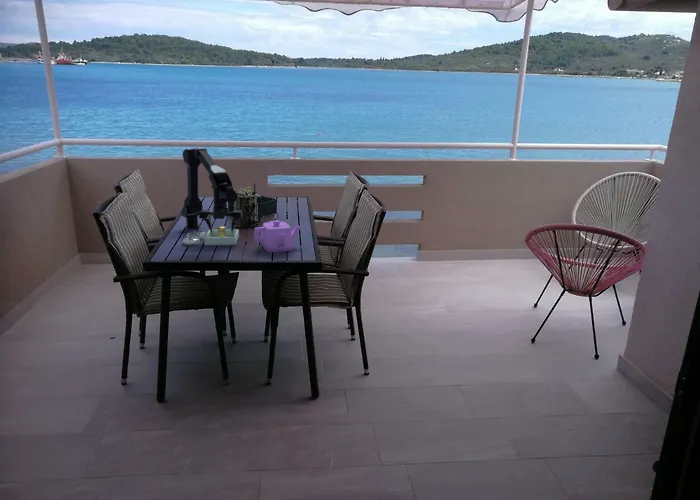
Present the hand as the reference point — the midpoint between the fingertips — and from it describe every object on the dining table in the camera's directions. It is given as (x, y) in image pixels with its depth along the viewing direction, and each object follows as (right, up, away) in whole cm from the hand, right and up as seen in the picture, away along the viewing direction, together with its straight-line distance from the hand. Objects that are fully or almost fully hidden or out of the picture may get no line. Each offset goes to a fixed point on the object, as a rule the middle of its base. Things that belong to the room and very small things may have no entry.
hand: (221, 232), depth 229 cm
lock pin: (0, -3, +1) cm, 3 cm away
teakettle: (+27, -7, -6) cm, 28 cm away
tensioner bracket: (-13, -3, +1) cm, 14 cm away
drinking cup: (+8, +8, +38) cm, 40 cm away
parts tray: (0, -4, +1) cm, 4 cm away
